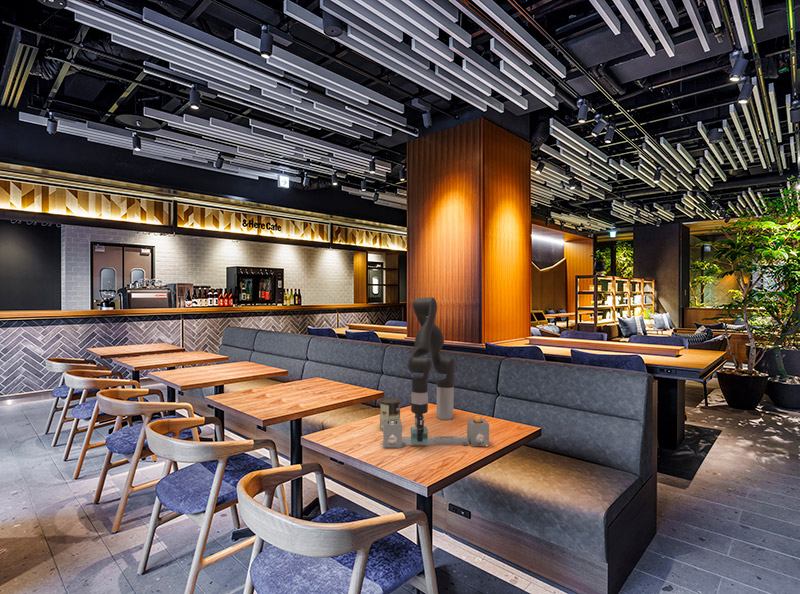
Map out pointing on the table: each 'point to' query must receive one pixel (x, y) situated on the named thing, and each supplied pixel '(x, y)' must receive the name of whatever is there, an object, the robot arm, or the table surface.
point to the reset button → (477, 419)
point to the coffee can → (389, 410)
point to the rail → (438, 441)
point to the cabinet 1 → (392, 434)
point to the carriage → (414, 435)
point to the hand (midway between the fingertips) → (419, 438)
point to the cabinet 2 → (478, 432)
